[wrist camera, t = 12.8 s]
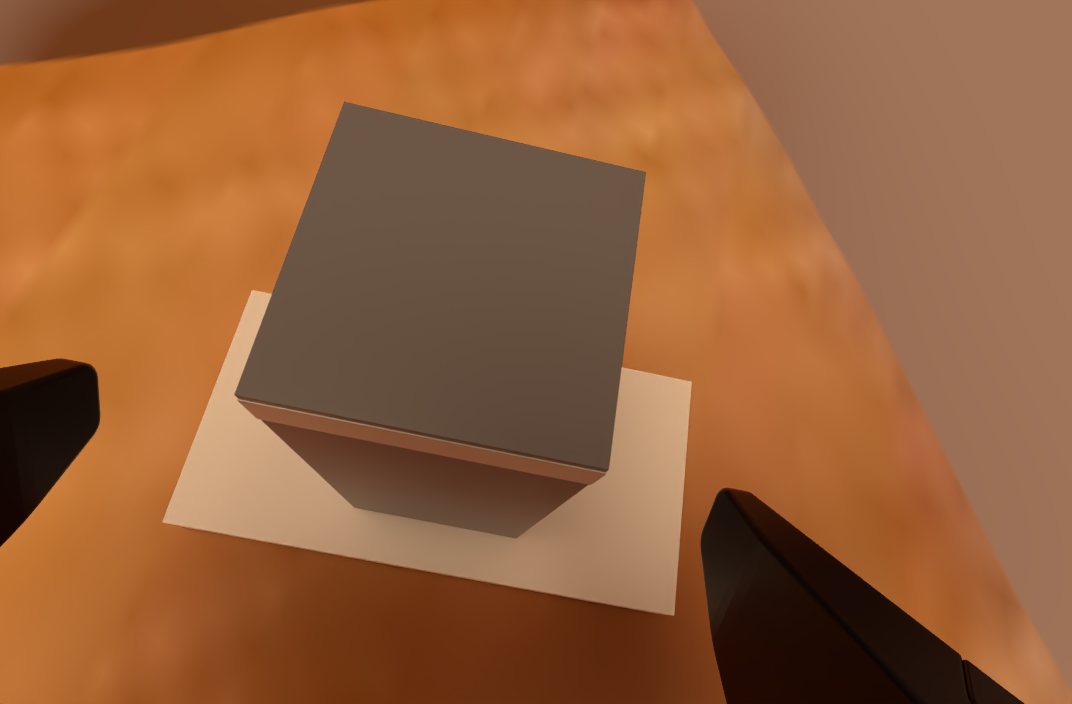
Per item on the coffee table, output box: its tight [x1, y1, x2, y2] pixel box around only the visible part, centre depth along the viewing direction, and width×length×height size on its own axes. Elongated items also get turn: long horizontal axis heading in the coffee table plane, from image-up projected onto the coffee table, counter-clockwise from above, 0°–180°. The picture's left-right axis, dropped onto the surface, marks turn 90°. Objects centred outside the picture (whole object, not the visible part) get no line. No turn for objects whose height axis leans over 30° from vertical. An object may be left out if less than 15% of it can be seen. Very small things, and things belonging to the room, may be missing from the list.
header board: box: [162, 290, 692, 616], centre depth 20 cm, size 8×16×4 cm, turn 80°
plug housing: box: [234, 102, 646, 538], centre depth 15 cm, size 5×5×12 cm
